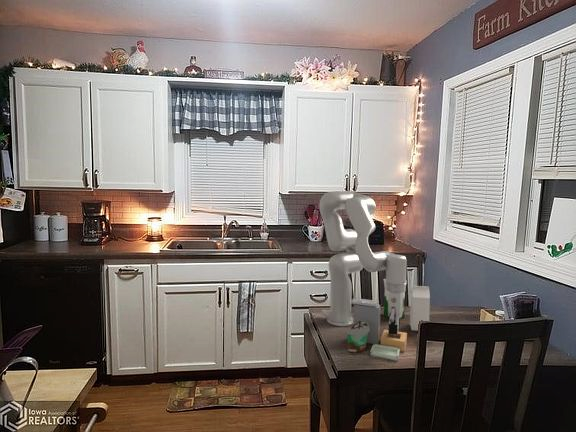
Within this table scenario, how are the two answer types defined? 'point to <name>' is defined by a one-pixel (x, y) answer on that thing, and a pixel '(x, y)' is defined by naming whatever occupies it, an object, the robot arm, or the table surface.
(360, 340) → the food container
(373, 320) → the hitch
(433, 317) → the table surface
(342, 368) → the table surface
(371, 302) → the keeper plate
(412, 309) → the milk carton
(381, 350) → the tray
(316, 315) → the table surface
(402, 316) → the soya milk
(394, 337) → the pin
